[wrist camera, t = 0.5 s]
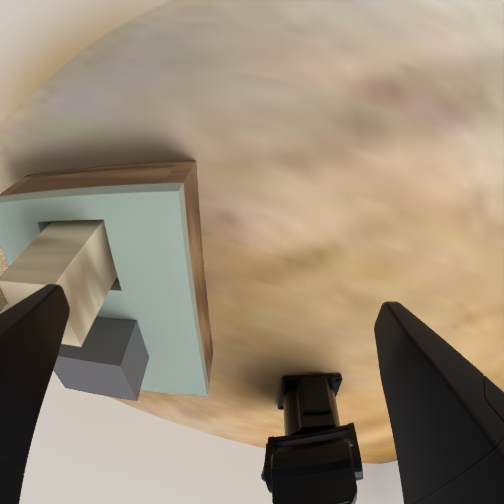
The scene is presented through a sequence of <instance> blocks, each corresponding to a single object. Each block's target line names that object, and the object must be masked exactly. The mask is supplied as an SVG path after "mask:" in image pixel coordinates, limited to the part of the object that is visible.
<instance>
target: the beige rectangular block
mask: <svg viewBox="0 0 504 504" xmlns="http://www.w3.org/2000/svg"><path fill="white" fill-rule="evenodd" d="M116 278H117V272H116V269H115V265H114V261H113V257H112V253H111V249H110V245H109V241H108V236H107V232H106V228H105V223H104V219H101V220H68V221H52V222H51V223H50V224H49V225H48V226H47V227H46V228H45V229H44V230H43V231H42V232H41V233H40V234H39V235H38V236H37V237H36V238H35V239H34V240H33V241H32V242H31V243H30V244H29V246H28V247H27V248H26V249H25V250H24V251H23V252H22V253H21V254H20V255H19V256H18V257H17V259H16V260H15V261H14V262H13V263H12V264H11V265H10V266H9V267H8V269H7V270H6V271H5V272H4V273H3V274H2V276H1V277H0V288H1V290H2V292H3V294H4V296H5V298H6V300H7V302H8V304H9V306H10V307H12V306H13V305H15V304H17V303H18V302H20V301H21V300H23V299H25V298H26V297H28V296H29V295H31V294H33V293H34V292H36V291H38V290H39V289H41V288H43V287H44V286H46V285H48V284H58V285H61V286H62V288H63V290H64V293H65V295H66V298H67V301H68V303H69V306H70V314H69V318H68V321H67V325H66V328H65V332H64V335H63V339H62V343H61V344H66V345H72V346H79V347H81V346H82V344H83V342H84V340H85V338H86V336H87V334H88V332H89V330H90V328H91V326H92V324H93V322H94V319H95V318H96V316H97V314H98V312H99V310H100V308H101V306H102V304H103V302H104V300H105V298H106V296H107V294H108V292H109V290H110V289H111V287H112V285H113V283H114V281H115V279H116Z"/></svg>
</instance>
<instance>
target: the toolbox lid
mask: <svg viewBox="0 0 504 504" xmlns="http://www.w3.org/2000/svg"><path fill="white" fill-rule="evenodd" d="M101 219H104V223H105V228H106V232H107V236H108V241H109V245H110V249H111V253H112V257H113V261H114V265H115V269H116V272H117V276H118V279H115V281H114V283H113V285H112V287H111V289H110V290H109V292H108V294H107V296H106V298H105V300H104V302H103V304H102V306H101V308H100V310H99V312H98V314H97V316H96V318H95V319H94V322H93V324H92V326H91V328H90V330H89V332H88V334H87V336H86V338H85V340H84V342H83V344H82V346H81V347H79V346H72V345H66V344H61V347H60V350H59V354H58V357H57V360H56V363H55V366H54V369H53V370H54V372H55V373H56V375H57V376H58V378H59V379H60V380H61V382H62V384H63V385H64V386H65V388H69V389H74V390H78V391H83V392H88V393H93V394H98V395H105V396H109V397H115V398H121V399H128V400H135V401H137V400H138V396H139V392H140V390H143V391H151V392H160V393H170V394H181V395H194V396H208V388H209V383H208V377H207V371H206V365H205V359H204V353H203V346H202V340H201V333H200V326H199V319H198V312H197V305H196V297H195V289H194V281H193V273H192V265H191V256H190V247H189V238H188V228H187V218H186V207H185V196H184V184H183V183H159V184H135V185H116V186H100V187H86V188H73V189H62V190H51V191H41V192H32V193H23V194H14V195H6V196H0V246H1V248H2V251H3V254H4V256H5V259H6V261H7V264H8V266H10V265H11V264H12V263H13V262H14V261H15V260H16V259H17V257H18V256H19V255H20V254H21V253H22V252H23V251H24V250H25V249H26V248H27V247H28V246H29V244H30V243H31V242H32V241H33V240H34V239H35V238H36V237H37V236H38V235H39V234H40V233H41V232H42V231H43V230H44V229H45V228H46V227H47V226H48V225H49V221H68V220H101Z"/></svg>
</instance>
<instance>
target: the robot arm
mask: <svg viewBox="0 0 504 504" xmlns="http://www.w3.org/2000/svg"><path fill="white" fill-rule="evenodd" d="M69 314H70V306H69V303H68V301H67V298H66V295H65V293H64V290H63V288H62V286H61V285H58V284H48V285H46V286H44V287H43V288H41V289H39V290H38V291H36V292H34V293H33V294H31V295H29V296H28V297H26V298H25V299H23V300H21V301H20V302H18V303H17V304H15V305H13V306H12V307H10V308H9V309H7V310H6V311H4V312H2V313H1V314H0V504H19V500H20V494H21V488H22V482H23V477H24V475H23V474H24V472H25V467H26V463H27V458H28V454H29V450H30V446H31V441H32V437H33V433H34V430H35V426H36V423H37V419H38V416H39V412H40V408H41V406H42V402H43V399H44V396H45V393H46V390H47V387H48V383H49V381H50V378H51V375H52V372H53V369H54V366H55V363H56V360H57V357H58V354H59V350H60V347H61V343H62V339H63V335H64V332H65V328H66V325H67V321H68V318H69ZM374 332H375V339H376V346H377V353H378V361H379V369H380V376H381V381H382V386H383V390H384V395H385V399H386V404H387V408H388V413H389V418H390V423H391V428H392V433H393V438H394V443H395V449H396V454H397V460H398V465H399V472H400V478H401V485H402V492H403V498H404V504H504V392H503V391H502V390H501V389H500V388H498V387H497V386H496V385H495V384H494V383H493V382H492V381H490V380H489V379H488V378H487V377H486V376H484V375H483V373H482V372H480V371H479V370H478V369H477V368H476V367H475V366H474V365H472V364H471V363H470V362H469V361H468V360H467V359H466V358H465V357H463V356H462V355H461V354H460V353H459V352H458V351H456V350H455V349H454V348H453V347H452V346H451V345H449V344H448V343H447V342H446V341H445V340H444V339H442V338H441V337H440V336H439V335H438V334H437V333H435V332H434V331H433V330H432V329H431V328H429V327H428V326H427V325H426V324H425V323H423V322H422V321H421V320H420V319H419V318H417V317H416V316H415V315H414V314H412V313H411V312H410V311H409V310H408V309H406V308H405V307H404V306H403V305H401V304H400V303H399V302H384V303H383V304H382V306H381V309H380V312H379V314H378V317H377V320H376V322H375V326H374ZM341 382H342V376H341V375H340V374H336V375H316V376H285V377H282V378H281V384H280V391H279V399H278V409H280V410H284V423H285V436H279V437H274V436H273V437H268V443H267V444H266V454H265V463H264V468H263V471H262V475H261V476H262V480H264V481H265V482H266V485H267V487H268V490H269V492H271V493H272V497H273V499H272V500H273V504H355V502H356V499H357V485H356V480H361V479H363V471H362V463H361V457H360V451H359V446H358V441H357V437H356V432H355V427H354V423H349V424H348V425H344V426H340V423H339V416H338V410H337V405H336V399H335V397H336V395H337V392H338V389H339V387H340V384H341Z"/></svg>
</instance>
